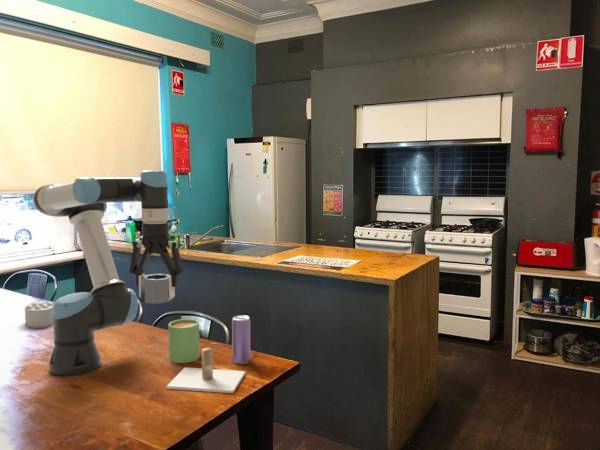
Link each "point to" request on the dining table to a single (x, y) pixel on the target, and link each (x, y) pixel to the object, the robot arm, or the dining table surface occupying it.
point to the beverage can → (241, 339)
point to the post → (207, 364)
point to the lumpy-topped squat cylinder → (39, 314)
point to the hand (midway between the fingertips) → (157, 296)
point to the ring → (155, 288)
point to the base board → (220, 383)
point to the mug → (184, 340)
